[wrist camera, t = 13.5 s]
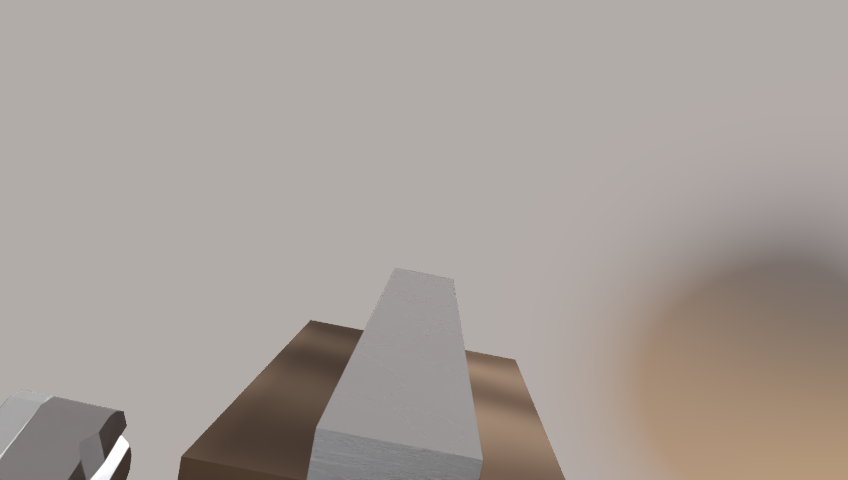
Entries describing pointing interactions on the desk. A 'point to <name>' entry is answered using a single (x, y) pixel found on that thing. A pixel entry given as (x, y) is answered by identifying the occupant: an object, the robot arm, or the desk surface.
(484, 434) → the pedestal
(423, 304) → the block
